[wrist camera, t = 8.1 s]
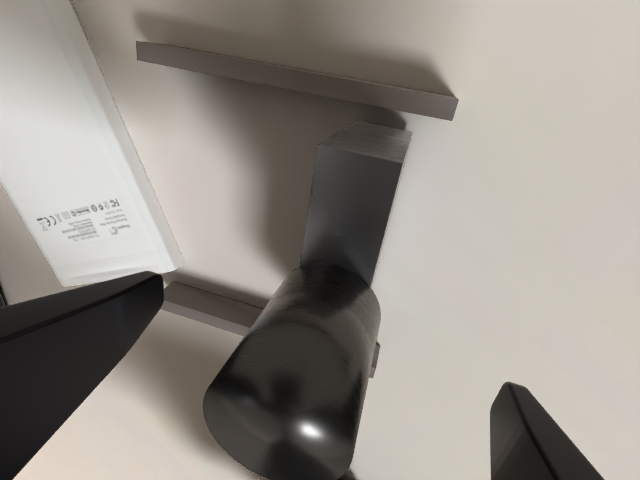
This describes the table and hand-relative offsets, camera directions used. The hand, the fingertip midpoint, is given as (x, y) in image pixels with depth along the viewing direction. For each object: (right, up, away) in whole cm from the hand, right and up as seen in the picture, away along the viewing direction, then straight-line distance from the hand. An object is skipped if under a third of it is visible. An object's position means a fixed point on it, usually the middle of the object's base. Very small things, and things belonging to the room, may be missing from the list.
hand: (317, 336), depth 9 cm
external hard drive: (-12, +7, +9) cm, 16 cm away
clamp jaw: (+2, +3, +6) cm, 7 cm away
